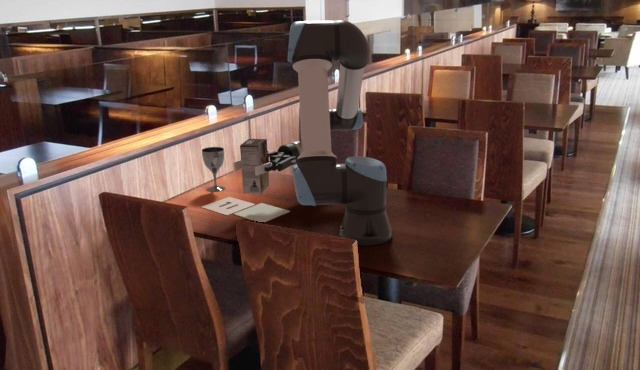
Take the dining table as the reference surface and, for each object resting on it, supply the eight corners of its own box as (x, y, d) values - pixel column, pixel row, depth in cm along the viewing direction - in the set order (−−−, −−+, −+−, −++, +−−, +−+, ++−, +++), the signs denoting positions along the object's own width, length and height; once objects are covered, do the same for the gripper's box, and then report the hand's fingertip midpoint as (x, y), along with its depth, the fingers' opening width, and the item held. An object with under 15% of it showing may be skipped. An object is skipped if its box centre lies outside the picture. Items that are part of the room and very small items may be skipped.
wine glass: (203, 186, 223) (200, 147, 218) (224, 184, 225) (222, 146, 221) (206, 193, 216) (203, 153, 211) (228, 190, 218) (225, 151, 213)
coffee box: (251, 184, 199) (248, 138, 194) (269, 185, 198) (267, 138, 193) (242, 193, 190) (239, 144, 186) (261, 194, 189) (259, 145, 184)
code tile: (255, 204, 203) (255, 204, 203) (227, 215, 194) (226, 214, 193) (229, 197, 211) (229, 196, 211) (201, 207, 201) (201, 206, 201)
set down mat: (289, 211, 196) (289, 210, 196) (262, 223, 186) (261, 222, 186) (261, 203, 204) (261, 202, 204) (233, 214, 194) (233, 213, 194)
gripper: (317, 169, 199) (270, 186, 183) (269, 159, 213) (222, 174, 196) (316, 147, 197) (269, 162, 180) (268, 138, 210) (220, 151, 194)
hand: (244, 168), depth 188 cm, fingers closed on coffee box, 9 cm apart
